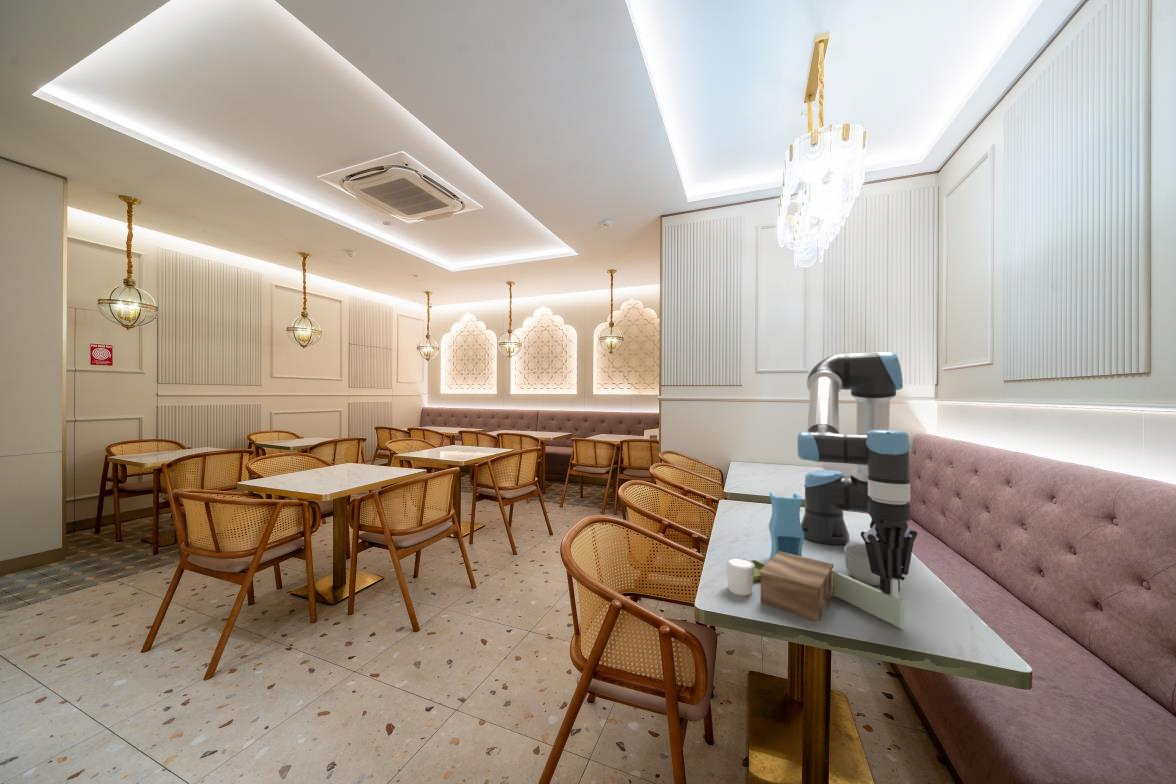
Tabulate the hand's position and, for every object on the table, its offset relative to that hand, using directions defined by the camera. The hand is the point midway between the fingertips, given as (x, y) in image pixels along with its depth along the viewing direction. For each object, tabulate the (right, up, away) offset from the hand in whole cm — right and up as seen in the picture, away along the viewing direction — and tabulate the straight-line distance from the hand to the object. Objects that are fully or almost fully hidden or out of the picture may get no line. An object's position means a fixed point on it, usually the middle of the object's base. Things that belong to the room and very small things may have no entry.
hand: (890, 606), depth 87 cm
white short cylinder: (-28, -3, +13) cm, 31 cm away
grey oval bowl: (+9, -4, +21) cm, 23 cm away
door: (-3, -3, +4) cm, 5 cm away
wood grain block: (-16, -3, +9) cm, 18 cm away
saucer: (-20, -4, +23) cm, 31 cm away
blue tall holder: (-8, -4, +30) cm, 31 cm away
